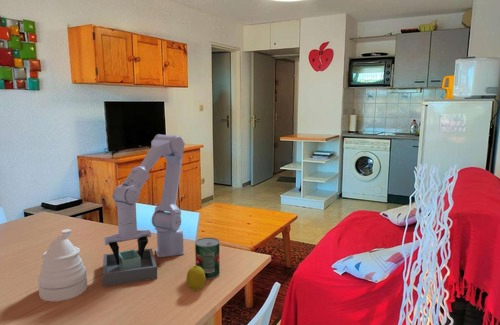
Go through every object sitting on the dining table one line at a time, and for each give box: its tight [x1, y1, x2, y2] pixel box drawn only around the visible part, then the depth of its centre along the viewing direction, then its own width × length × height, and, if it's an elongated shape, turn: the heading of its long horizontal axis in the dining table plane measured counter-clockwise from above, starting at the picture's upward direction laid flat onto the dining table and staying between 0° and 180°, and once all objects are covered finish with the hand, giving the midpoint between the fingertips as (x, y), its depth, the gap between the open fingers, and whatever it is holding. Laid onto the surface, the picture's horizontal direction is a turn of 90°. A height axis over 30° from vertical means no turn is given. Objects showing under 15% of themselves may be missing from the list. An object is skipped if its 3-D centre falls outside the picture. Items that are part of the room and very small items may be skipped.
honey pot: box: [37, 228, 88, 302], centre depth 109 cm, size 13×13×18 cm
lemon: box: [186, 264, 206, 292], centre depth 109 cm, size 6×6×8 cm
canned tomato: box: [194, 237, 221, 280], centre depth 120 cm, size 8×8×11 cm
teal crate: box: [118, 248, 141, 270], centre depth 122 cm, size 6×8×5 cm
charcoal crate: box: [102, 248, 158, 288], centre depth 122 cm, size 16×16×4 cm
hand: (129, 261), depth 122 cm, fingers open, 7 cm apart
